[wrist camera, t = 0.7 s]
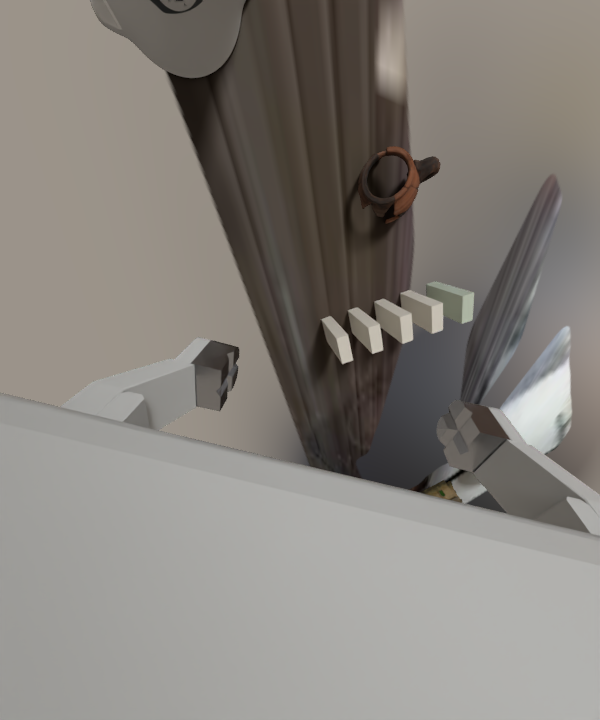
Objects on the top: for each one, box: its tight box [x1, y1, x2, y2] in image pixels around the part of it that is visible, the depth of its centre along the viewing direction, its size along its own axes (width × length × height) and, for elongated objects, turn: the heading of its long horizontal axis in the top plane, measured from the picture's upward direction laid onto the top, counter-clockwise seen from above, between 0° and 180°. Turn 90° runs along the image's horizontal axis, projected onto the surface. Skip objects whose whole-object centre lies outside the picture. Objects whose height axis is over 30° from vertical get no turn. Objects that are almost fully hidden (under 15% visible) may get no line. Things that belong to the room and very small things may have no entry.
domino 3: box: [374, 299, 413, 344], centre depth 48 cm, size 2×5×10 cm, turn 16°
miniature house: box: [421, 480, 462, 503], centre depth 82 cm, size 15×14×11 cm
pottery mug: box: [358, 147, 440, 223], centre depth 40 cm, size 12×10×8 cm
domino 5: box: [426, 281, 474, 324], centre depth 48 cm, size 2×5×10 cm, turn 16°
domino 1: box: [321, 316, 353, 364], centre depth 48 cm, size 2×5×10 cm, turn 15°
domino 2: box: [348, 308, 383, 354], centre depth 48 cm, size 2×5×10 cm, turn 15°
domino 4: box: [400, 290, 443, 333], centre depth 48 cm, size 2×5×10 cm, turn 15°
